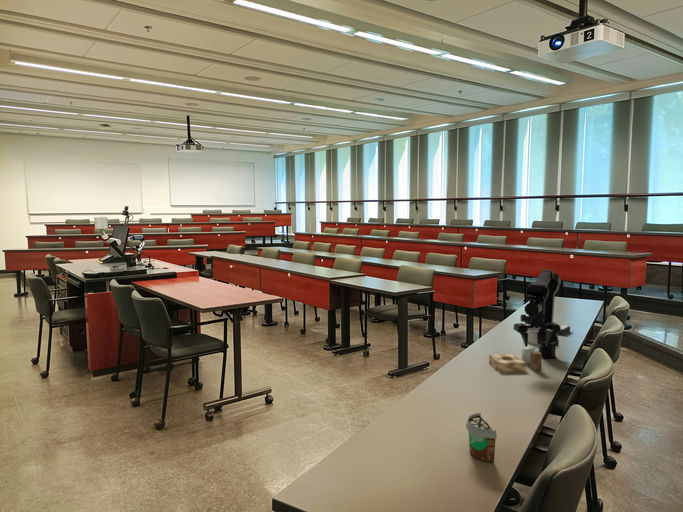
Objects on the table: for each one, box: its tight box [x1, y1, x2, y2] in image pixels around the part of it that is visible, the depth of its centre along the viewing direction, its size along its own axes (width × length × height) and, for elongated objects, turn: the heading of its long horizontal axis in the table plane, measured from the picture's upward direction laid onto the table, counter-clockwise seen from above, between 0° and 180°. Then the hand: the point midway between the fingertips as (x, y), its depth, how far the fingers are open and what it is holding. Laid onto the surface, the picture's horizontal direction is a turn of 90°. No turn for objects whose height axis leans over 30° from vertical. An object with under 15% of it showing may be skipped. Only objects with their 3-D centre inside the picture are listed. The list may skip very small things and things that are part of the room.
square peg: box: [529, 350, 543, 373], centre depth 204 cm, size 3×3×8 cm
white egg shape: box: [521, 346, 536, 366], centre depth 214 cm, size 6×6×7 cm
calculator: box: [557, 323, 571, 337], centre depth 268 cm, size 11×4×15 cm
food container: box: [465, 412, 498, 464], centre depth 134 cm, size 12×6×10 cm, turn 5°
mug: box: [524, 323, 539, 345], centre depth 247 cm, size 14×11×10 cm
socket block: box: [488, 353, 527, 373], centre depth 209 cm, size 12×12×4 cm
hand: (536, 346), depth 203 cm, fingers open, 9 cm apart
